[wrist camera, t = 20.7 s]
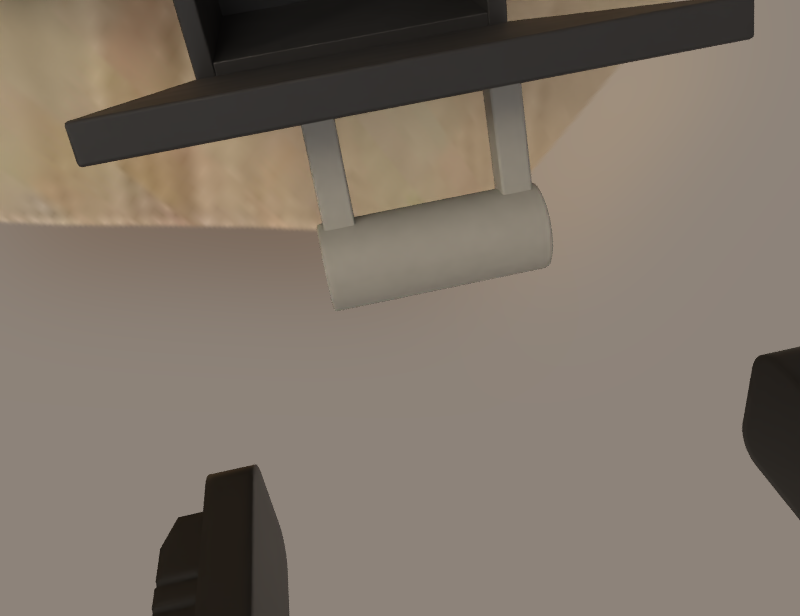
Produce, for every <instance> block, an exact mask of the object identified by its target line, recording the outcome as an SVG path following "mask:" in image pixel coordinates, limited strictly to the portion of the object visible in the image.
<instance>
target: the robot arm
mask: <svg viewBox="0 0 800 616" xmlns="http://www.w3.org/2000/svg"><path fill="white" fill-rule="evenodd" d="M742 432H743V438H744V442H745V446H746V448H747V451H748V453H749V455H750V457H751V459H752V460H753V462H754V463H755V465H756V466H757V467H758V468H759V470H760V471H761V472H762V473H763V475H764V476H765V477H766V478H767V479H768V481H769V482H770V483H771V485H772V486H773V487H774V488H775V490H776V491H777V492H778V493H779V495H780V496H781V497H782V498H783V500H784V501H785V502H786V503H787V505H788V506H789V507H790V508H791V510H792V511H793V512H794V513H795V515H796V516H797V517H798V518H799V520H800V347H796V348H791V349H787V350H783V351H778V352H773V353H769V354H765V355H760V356H758V357H757V358H756V359H755V361H754V363H753V367H752V373H751V378H750V384H749V390H748V396H747V401H746V407H745V413H744V419H743V426H742ZM156 585H157V587H156V588H155V590H154V598H153V605H152V611H153V616H289V596H288V571H287V559H286V551H285V546H284V540H283V536H282V532H281V529H280V525H279V522H278V520H277V517H276V514H275V511H274V509H273V505H272V503H271V500H270V497H269V494H268V491H267V488H266V486H265V483H264V480H263V477H262V474H261V472H260V469H259V467H258V466H257V465H252V466H247V467H242V468H237V469H233V470H228V471H224V472H219V473H215V474H210V475H208V476H207V479H206V484H205V497H204V508H203V512H200V513H196V514H191V515H187V516H182V517H178V519H177V520H176V522H175V524H174V526H173V528H172V529H171V531H170V533H169V535H168V537H167V538H166V540H165V542H164V543H163V545H162V547H161V549H160V555H159V562H158V569H157V576H156Z"/></svg>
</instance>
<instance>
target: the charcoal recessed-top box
mask: <svg viewBox="0 0 800 616" xmlns="http://www.w3.org/2000/svg"><path fill="white" fill-rule="evenodd" d="M173 3H174V6H175V10H176V13H177V16H178V20H179V23H180V26H181V30H182V33H183V37H184V40H185V43H186V47H187V50H188V53H189V57H190V60H191V63H192V67H193V70H194V74H195V77H196V80H197V79H203V78H208V77H213V76H219V75H224V74H229V73H235V72H240V71H246V70H251V69H256V68H262V67H267V66H272V65H278V64H283V63H288V62H294V61H299V60H305V59H310V58H315V57H321V56H326V55H331V54H337V53H342V52H347V51H353V50H358V49H364V48H369V47H374V46H380V45H385V44H390V43H396V42H401V41H407V40H412V39H417V38H423V37H428V36H433V35H439V34H444V33H449V32H455V31H460V30H466V29H471V28H476V27H482V26H487V25H492V24H498V23H503V22H507V4H506V0H173Z"/></svg>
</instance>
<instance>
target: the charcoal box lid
mask: <svg viewBox="0 0 800 616" xmlns="http://www.w3.org/2000/svg"><path fill="white" fill-rule="evenodd" d="M753 36H754V0H689V1H679V2H671V3H662V4H654V5H645V6H636V7H628V8H619V9H611V10H602V11H594V12H585V13H577V14H568V15H559V16H551V17H542V18H534V19H525V20H517V21H508V22H503V23H498V24H492V25H487V26H482V27H476V28H471V29H466V30H460V31H455V32H449V33H444V34H439V35H433V36H428V37H423V38H417V39H412V40H407V41H401V42H396V43H390V44H385V45H380V46H374V47H369V48H364V49H358V50H353V51H347V52H342V53H337V54H331V55H326V56H321V57H315V58H310V59H305V60H299V61H294V62H288V63H283V64H278V65H272V66H267V67H262V68H256V69H251V70H246V71H240V72H235V73H229V74H224V75H219V76H213V77H208V78H203V79H197V80H194V81H191V82H188V83H184V84H181V85H178V86H175V87H172V88H169V89H166V90H163V91H160V92H157V93H154V94H151V95H147V96H144V97H141V98H138V99H135V100H132V101H129V102H126V103H123V104H120V105H117V106H114V107H110V108H107V109H104V110H101V111H98V112H95V113H92V114H89V115H86V116H83V117H80V118H77V119H73V120H70V121H67V122H66V123H65V128H66V131H67V134H68V137H69V140H70V143H71V146H72V149H73V152H74V155H75V158H76V161H77V164H78V165H79V166H80V167H86V166H91V165H96V164H101V163H107V162H112V161H117V160H122V159H128V158H133V157H138V156H143V155H148V154H154V153H159V152H164V151H169V150H174V149H180V148H185V147H190V146H195V145H200V144H206V143H211V142H216V141H221V140H227V139H232V138H237V137H242V136H247V135H253V134H258V133H263V132H268V131H273V130H279V129H284V128H289V127H294V126H300V125H301V128H302V132H303V137H304V141H305V146H306V151H307V155H308V160H309V164H310V169H311V174H312V178H313V183H314V187H315V192H316V197H317V201H318V206H319V210H320V215H321V220H322V224H319V225H318V226H317V233H318V239H319V244H320V250H321V255H322V260H323V265H324V269H325V274H326V279H327V283H328V288H329V292H330V296H331V300H332V303H333V307H334V309H335V310H336V311H340V310H345V309H349V308H354V307H360V306H364V305H369V304H374V303H379V302H384V301H389V300H393V299H398V298H402V297H408V296H412V295H417V294H422V293H427V292H432V291H436V290H441V289H446V288H451V287H456V286H460V285H465V284H470V283H475V282H480V281H485V280H489V279H494V278H499V277H504V276H508V275H513V274H517V273H523V272H527V271H533V270H537V269H542V268H546V267H547V266H549V264H550V262H551V259H552V251H553V238H552V229H551V223H550V218H549V214H548V210H547V207H546V203H545V201H544V198H543V196H542V194H541V192H540V190H539V189H538V187H537V186H536V185H535V184H534V183H532V181H531V172H530V162H529V153H528V143H527V134H526V125H525V115H524V106H523V96H522V87H521V83H524V82H529V81H534V80H539V79H544V78H550V77H555V76H560V75H565V74H571V73H576V72H581V71H586V70H591V69H597V68H602V67H607V66H612V65H617V64H623V63H628V62H633V61H638V60H644V59H649V58H653V57H659V56H664V55H670V54H674V53H680V52H685V51H690V50H695V49H701V48H706V47H711V46H716V45H722V44H727V43H732V42H737V41H743V40H748V39H750V38H752V37H753ZM482 90H483V95H484V103H485V111H486V119H487V127H488V135H489V143H490V151H491V159H492V167H493V175H494V183H495V189H492V190H487V191H482V192H477V193H472V194H467V195H462V196H457V197H452V198H447V199H442V200H437V201H432V202H427V203H422V204H417V205H413V206H408V207H403V208H398V209H393V210H388V211H383V212H378V213H373V214H368V215H363V216H358V217H354V215H353V210H352V205H351V200H350V195H349V190H348V185H347V180H346V175H345V170H344V165H343V160H342V155H341V150H340V145H339V140H338V135H337V130H336V125H335V120H334V119H336V118H341V117H346V116H352V115H357V114H362V113H367V112H372V111H378V110H383V109H388V108H393V107H399V106H404V105H409V104H414V103H419V102H425V101H430V100H435V99H440V98H445V97H451V96H456V95H461V94H466V93H472V92H477V91H482Z"/></svg>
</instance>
